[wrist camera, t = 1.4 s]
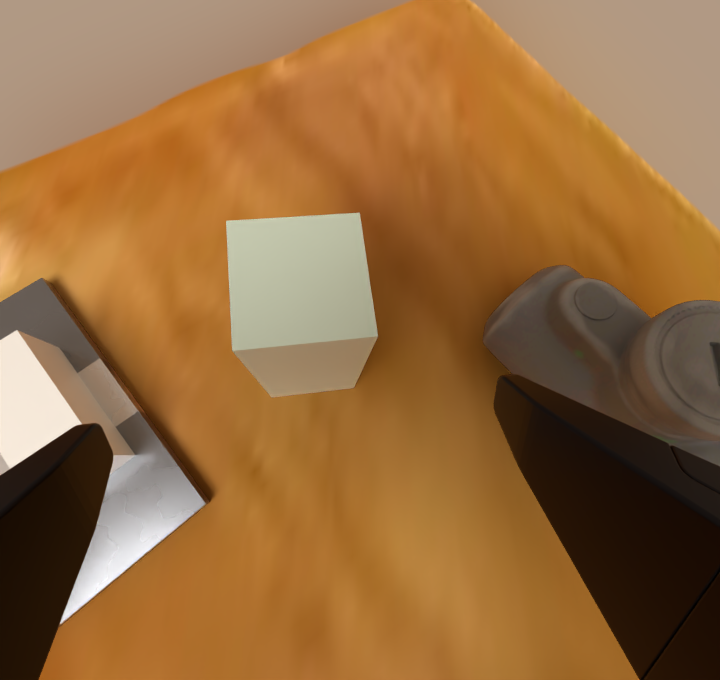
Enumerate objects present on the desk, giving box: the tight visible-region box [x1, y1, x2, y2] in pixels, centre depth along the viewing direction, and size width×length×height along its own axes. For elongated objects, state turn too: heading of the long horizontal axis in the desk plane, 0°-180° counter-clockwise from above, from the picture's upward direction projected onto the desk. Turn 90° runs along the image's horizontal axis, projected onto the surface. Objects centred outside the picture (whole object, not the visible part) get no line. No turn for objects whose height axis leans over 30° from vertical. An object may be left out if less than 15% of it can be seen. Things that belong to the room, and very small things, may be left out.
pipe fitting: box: [483, 265, 720, 466], centre depth 19 cm, size 12×8×10 cm
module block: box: [226, 213, 378, 397], centre depth 18 cm, size 4×4×10 cm
